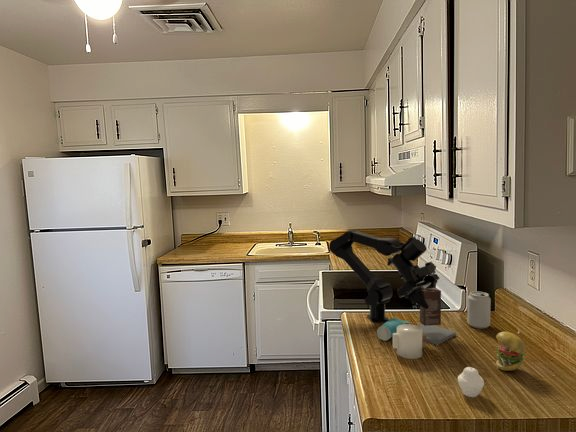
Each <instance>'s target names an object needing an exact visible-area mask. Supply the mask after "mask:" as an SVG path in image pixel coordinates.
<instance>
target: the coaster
mask: <svg viewBox="0 0 576 432" xmlns="http://www.w3.org/2000/svg"><path fill="white" fill-rule="evenodd" d="M417 326H419V327H421V328H422V333H424V334H426V335H427V343H430V344H433V345H436V346H438V345H441V344H442V343H443V342H445V341H447V340H449V339H452V338H453V337H455V336H456V334H457V332H456V331H454V330H452V329H451V330H450V329H448V328H444V327H440V326H439V325H428V326H424V325H423V324H422V323H420V324H418V325H417Z"/></svg>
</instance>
